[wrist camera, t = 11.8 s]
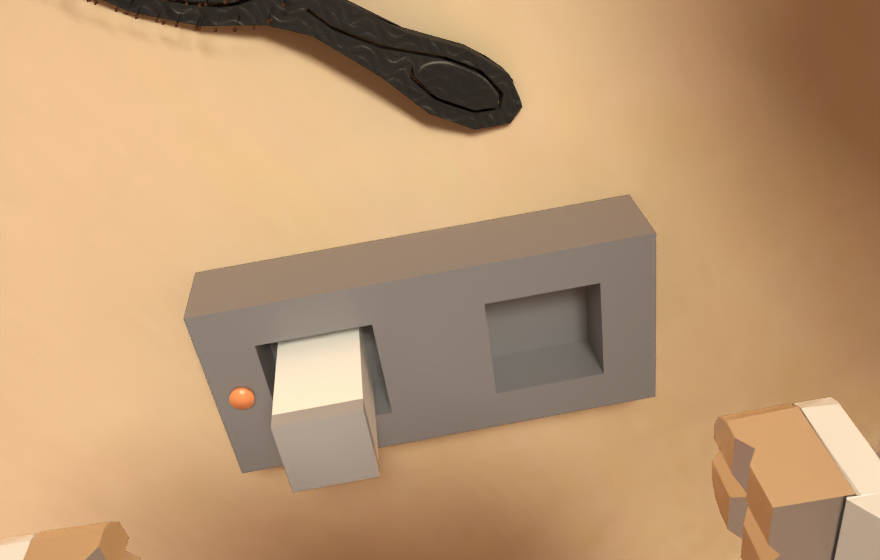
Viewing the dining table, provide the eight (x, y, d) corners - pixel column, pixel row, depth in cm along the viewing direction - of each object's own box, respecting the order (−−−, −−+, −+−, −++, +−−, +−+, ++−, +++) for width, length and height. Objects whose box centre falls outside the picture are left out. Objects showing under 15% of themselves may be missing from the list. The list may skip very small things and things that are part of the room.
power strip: (629, 194, 41) (658, 236, 38) (631, 351, 47) (657, 400, 43) (195, 272, 41) (182, 322, 37) (248, 421, 46) (241, 477, 43)
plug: (357, 306, 42) (363, 410, 35) (371, 367, 44) (380, 476, 37) (279, 320, 42) (270, 427, 35) (298, 380, 44) (292, 492, 37)
